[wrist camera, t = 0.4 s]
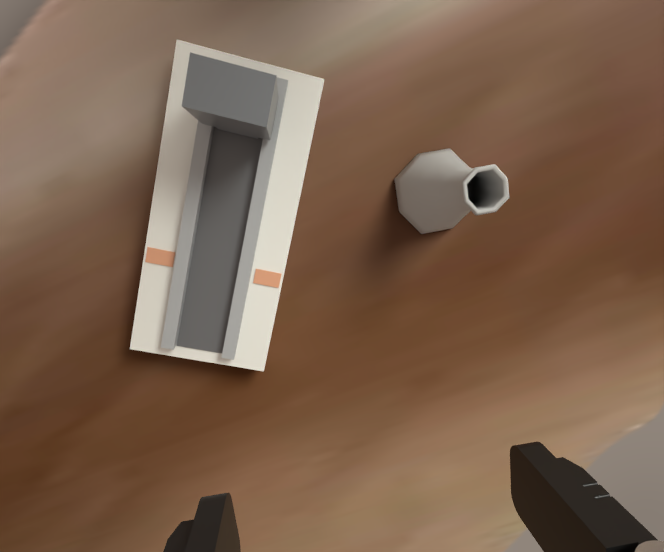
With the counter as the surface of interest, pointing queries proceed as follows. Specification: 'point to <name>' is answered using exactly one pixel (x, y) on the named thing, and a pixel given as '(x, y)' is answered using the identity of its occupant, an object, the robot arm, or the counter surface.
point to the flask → (447, 190)
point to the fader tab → (231, 96)
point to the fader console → (222, 224)
